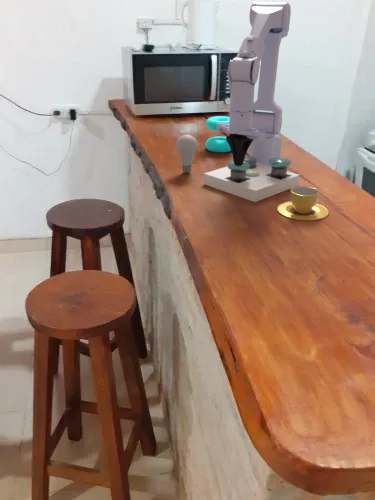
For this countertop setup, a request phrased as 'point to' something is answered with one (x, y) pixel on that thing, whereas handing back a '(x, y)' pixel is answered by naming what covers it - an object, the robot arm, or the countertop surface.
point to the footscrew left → (279, 167)
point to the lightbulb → (186, 151)
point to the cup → (303, 204)
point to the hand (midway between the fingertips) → (238, 163)
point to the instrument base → (251, 181)
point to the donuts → (218, 142)
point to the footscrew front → (238, 171)
